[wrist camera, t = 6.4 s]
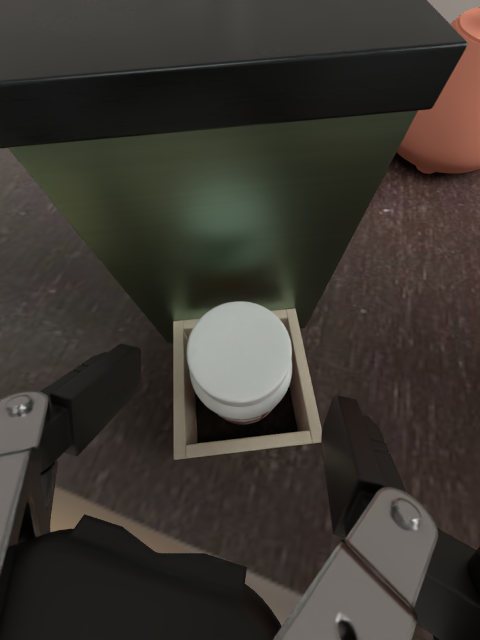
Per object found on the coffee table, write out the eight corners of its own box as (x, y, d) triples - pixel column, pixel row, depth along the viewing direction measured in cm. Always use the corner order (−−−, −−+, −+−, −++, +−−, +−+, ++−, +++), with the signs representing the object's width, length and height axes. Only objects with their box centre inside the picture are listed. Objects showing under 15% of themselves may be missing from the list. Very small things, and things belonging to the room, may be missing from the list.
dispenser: (308, 330, 19) (470, 42, 5) (164, 345, 19) (-63, 87, 5) (291, 258, 22) (371, -60, 8) (165, 271, 22) (18, -33, 8)
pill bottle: (244, 339, 19) (242, 271, 11) (293, 389, 17) (329, 350, 10) (192, 384, 18) (150, 343, 10) (240, 442, 16) (234, 446, 9)
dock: (309, 441, 16) (324, 442, 13) (187, 455, 16) (173, 459, 13) (287, 329, 19) (295, 307, 16) (185, 340, 19) (173, 321, 16)
